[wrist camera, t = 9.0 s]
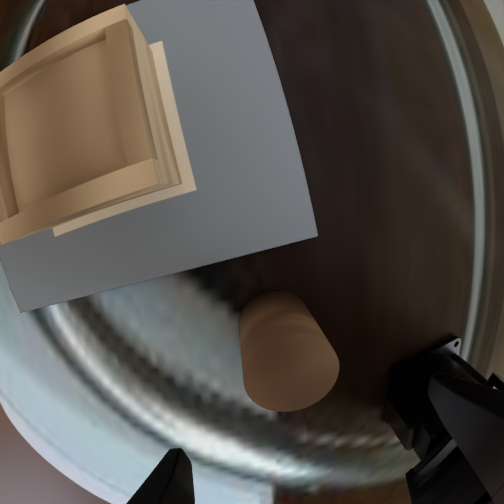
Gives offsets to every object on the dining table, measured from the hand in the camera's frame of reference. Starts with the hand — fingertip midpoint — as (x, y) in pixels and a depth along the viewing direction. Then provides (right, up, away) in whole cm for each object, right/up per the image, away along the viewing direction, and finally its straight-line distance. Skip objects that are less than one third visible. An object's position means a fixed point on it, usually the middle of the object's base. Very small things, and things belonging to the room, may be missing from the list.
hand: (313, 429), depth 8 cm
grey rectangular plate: (-9, +12, +5) cm, 16 cm away
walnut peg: (-1, +2, +8) cm, 8 cm away
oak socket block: (-9, +11, +4) cm, 15 cm away
